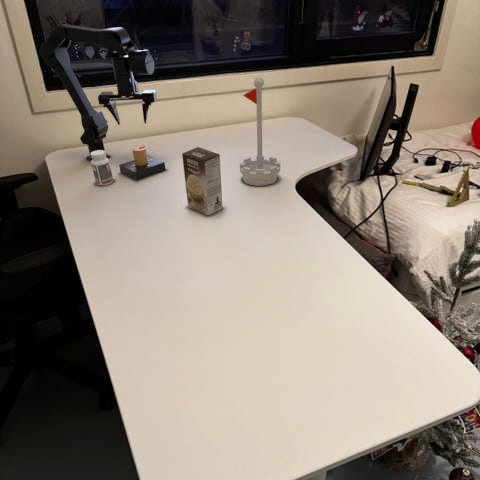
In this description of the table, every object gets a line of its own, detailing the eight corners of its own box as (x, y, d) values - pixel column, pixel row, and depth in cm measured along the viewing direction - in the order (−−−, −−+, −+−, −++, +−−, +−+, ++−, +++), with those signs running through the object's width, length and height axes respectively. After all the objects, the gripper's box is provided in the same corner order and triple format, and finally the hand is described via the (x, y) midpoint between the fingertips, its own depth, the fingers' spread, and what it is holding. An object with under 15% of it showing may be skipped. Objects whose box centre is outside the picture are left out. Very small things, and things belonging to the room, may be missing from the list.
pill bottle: (115, 179, 156) (109, 149, 149) (110, 185, 151) (103, 155, 145) (99, 179, 156) (92, 149, 150) (93, 185, 152) (86, 155, 146)
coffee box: (186, 207, 136) (180, 152, 126) (202, 200, 140) (197, 146, 130) (208, 216, 131) (203, 160, 121) (224, 208, 135) (220, 153, 125)
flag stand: (285, 174, 153) (288, 73, 134) (271, 189, 144) (271, 83, 125) (249, 169, 158) (247, 71, 139) (233, 183, 149) (228, 81, 130)
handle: (139, 166, 155) (137, 150, 152) (132, 163, 158) (129, 147, 155) (150, 163, 158) (148, 147, 154) (143, 159, 160) (140, 144, 157)
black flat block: (120, 173, 159) (118, 164, 157) (149, 163, 166) (147, 154, 164) (136, 180, 154) (135, 171, 152) (165, 170, 160) (164, 161, 158)
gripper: (155, 67, 156) (162, 116, 166) (101, 69, 157) (111, 118, 167) (150, 74, 147) (157, 125, 157) (92, 77, 148) (103, 127, 158)
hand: (132, 123), depth 160 cm, fingers open, 9 cm apart
